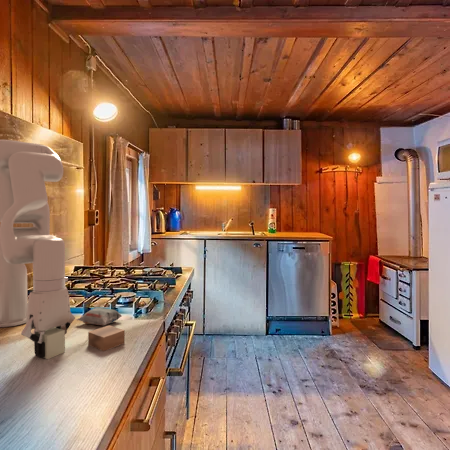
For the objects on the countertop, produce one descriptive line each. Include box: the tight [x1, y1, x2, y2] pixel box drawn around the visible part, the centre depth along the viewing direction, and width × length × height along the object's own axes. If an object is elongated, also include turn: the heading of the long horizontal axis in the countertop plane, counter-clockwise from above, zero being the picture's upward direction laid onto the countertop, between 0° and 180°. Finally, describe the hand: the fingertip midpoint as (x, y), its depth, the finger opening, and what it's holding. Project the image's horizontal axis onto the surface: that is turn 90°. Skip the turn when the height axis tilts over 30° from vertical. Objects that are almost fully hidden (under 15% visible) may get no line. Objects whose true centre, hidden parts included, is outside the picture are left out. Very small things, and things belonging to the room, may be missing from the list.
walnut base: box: [87, 324, 126, 352], centre depth 98 cm, size 7×7×4 cm
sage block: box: [38, 328, 66, 360], centre depth 91 cm, size 5×5×6 cm
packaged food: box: [76, 307, 122, 326], centre depth 115 cm, size 9×12×5 cm
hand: (50, 351), depth 91 cm, fingers closed on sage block, 5 cm apart
